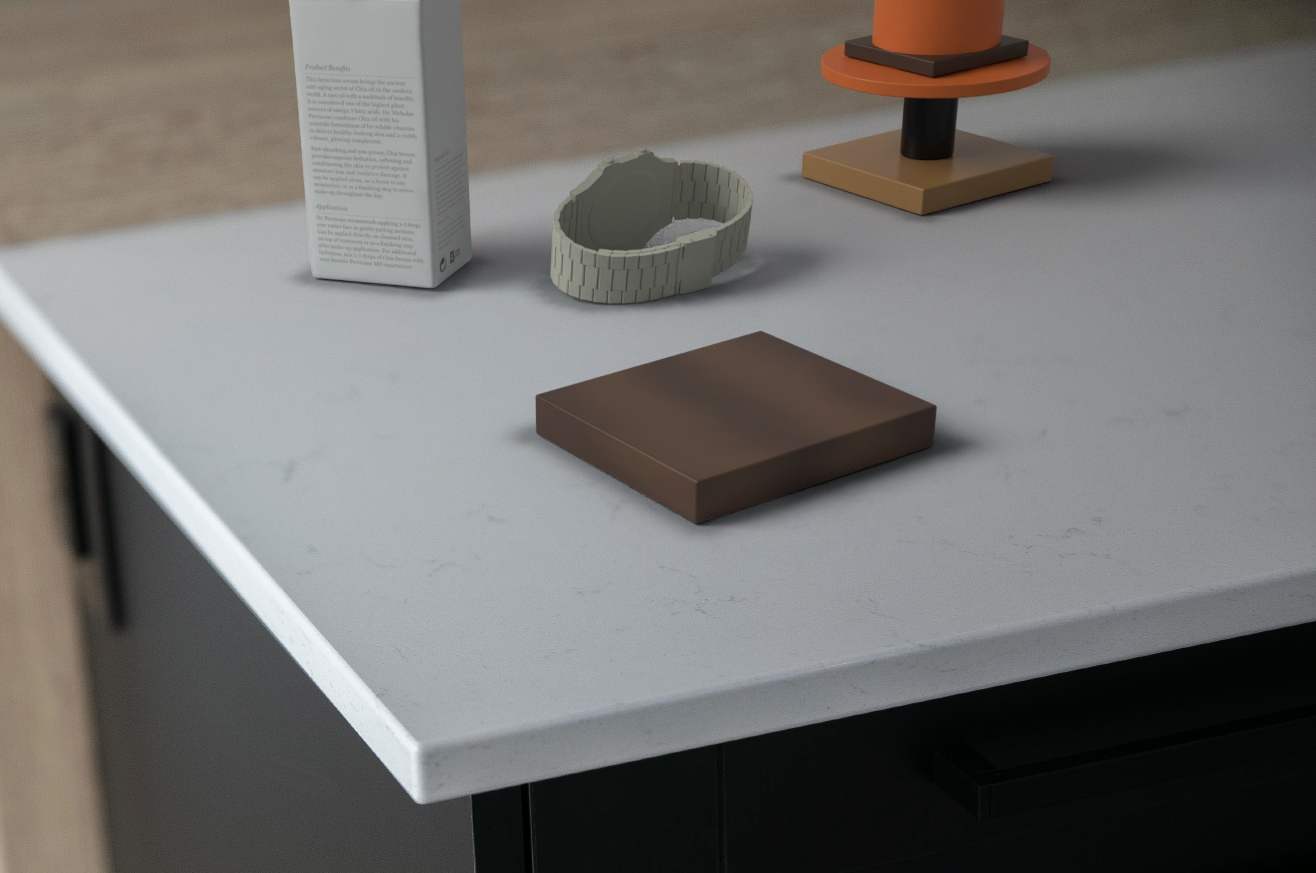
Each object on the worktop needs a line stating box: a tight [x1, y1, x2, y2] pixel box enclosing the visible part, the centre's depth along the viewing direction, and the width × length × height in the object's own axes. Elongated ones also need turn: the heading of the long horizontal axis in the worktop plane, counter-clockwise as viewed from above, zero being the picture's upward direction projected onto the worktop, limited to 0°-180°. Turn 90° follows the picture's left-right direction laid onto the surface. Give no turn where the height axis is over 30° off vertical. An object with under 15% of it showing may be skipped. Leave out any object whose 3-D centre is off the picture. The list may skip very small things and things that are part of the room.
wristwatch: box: [550, 146, 754, 304], centre depth 80 cm, size 9×6×5 cm
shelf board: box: [535, 330, 938, 524], centre depth 66 cm, size 10×9×2 cm
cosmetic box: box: [288, 0, 473, 289], centre depth 82 cm, size 6×4×12 cm
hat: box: [820, 0, 1052, 99], centre depth 87 cm, size 10×10×6 cm
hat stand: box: [801, 97, 1055, 216], centre depth 90 cm, size 8×8×5 cm
